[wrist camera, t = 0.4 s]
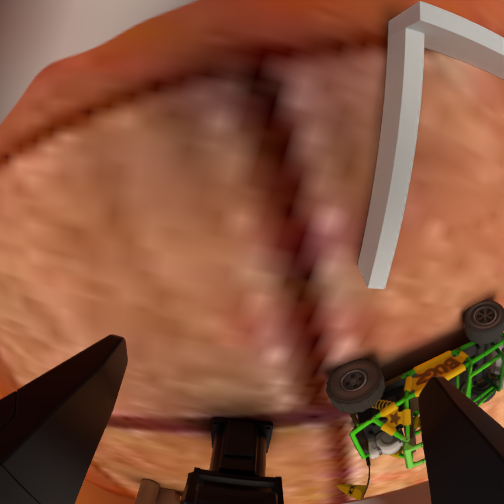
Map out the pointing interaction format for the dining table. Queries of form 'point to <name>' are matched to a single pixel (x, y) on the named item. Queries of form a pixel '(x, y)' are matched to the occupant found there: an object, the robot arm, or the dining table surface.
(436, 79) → the dining table surface
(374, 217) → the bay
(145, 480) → the wooden toy
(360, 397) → the motor vehicle
